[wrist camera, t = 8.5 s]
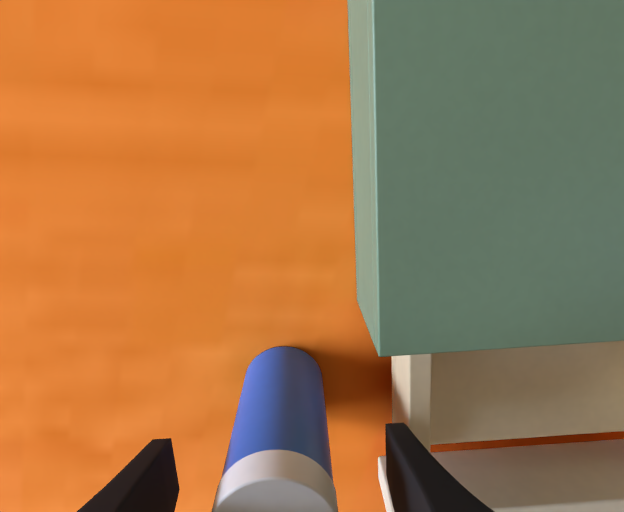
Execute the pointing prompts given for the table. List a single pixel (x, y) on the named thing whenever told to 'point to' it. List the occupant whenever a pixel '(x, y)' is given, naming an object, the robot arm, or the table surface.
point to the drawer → (519, 422)
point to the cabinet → (488, 172)
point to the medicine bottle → (279, 440)
